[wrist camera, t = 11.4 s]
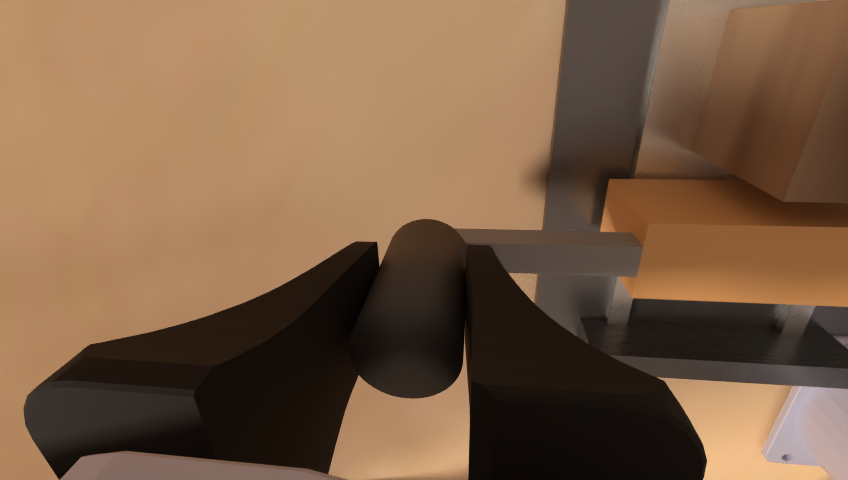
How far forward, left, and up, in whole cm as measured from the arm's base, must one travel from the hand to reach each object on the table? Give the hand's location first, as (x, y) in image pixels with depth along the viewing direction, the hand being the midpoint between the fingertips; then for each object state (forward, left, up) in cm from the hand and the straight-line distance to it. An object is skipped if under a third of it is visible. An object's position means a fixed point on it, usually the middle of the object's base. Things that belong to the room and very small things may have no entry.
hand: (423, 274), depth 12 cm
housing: (-11, -4, -6) cm, 13 cm away
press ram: (-7, 0, -5) cm, 9 cm away
